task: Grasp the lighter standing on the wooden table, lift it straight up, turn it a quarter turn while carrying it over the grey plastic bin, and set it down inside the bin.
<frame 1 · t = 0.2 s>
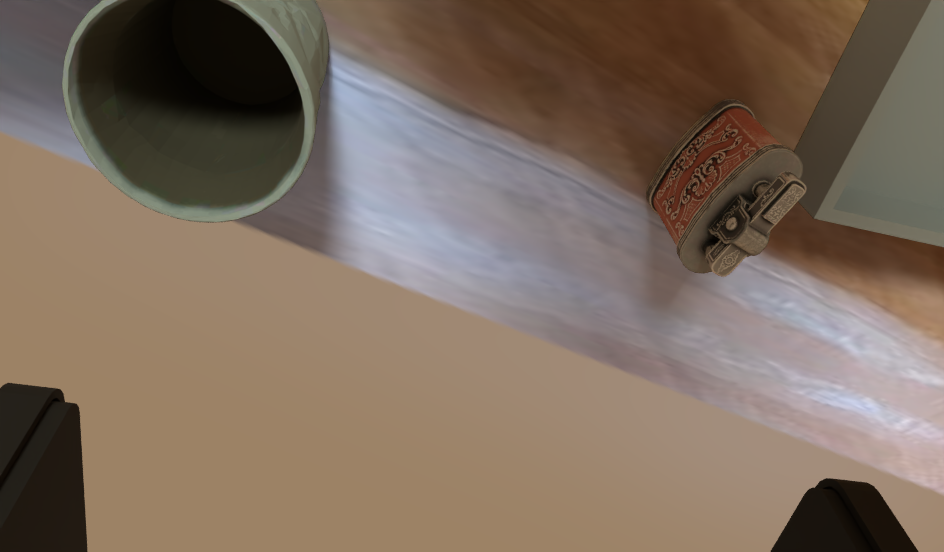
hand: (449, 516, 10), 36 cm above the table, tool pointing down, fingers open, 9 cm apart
green plant pot: (245, 34, 42), on the table
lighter: (696, 155, 48), on the table
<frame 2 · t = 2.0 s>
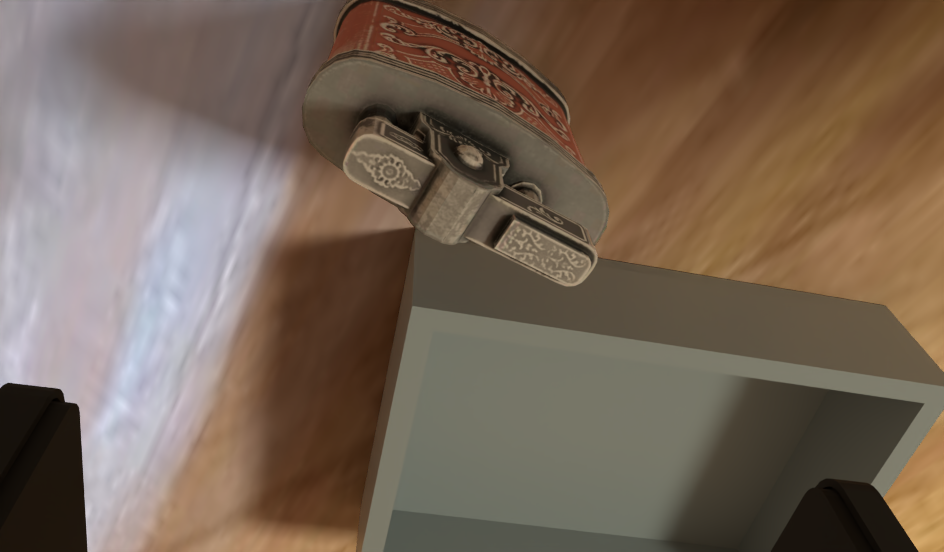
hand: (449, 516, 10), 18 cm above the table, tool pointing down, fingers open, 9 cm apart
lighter: (454, 72, 25), on the table
bin: (604, 414, 33), on the table
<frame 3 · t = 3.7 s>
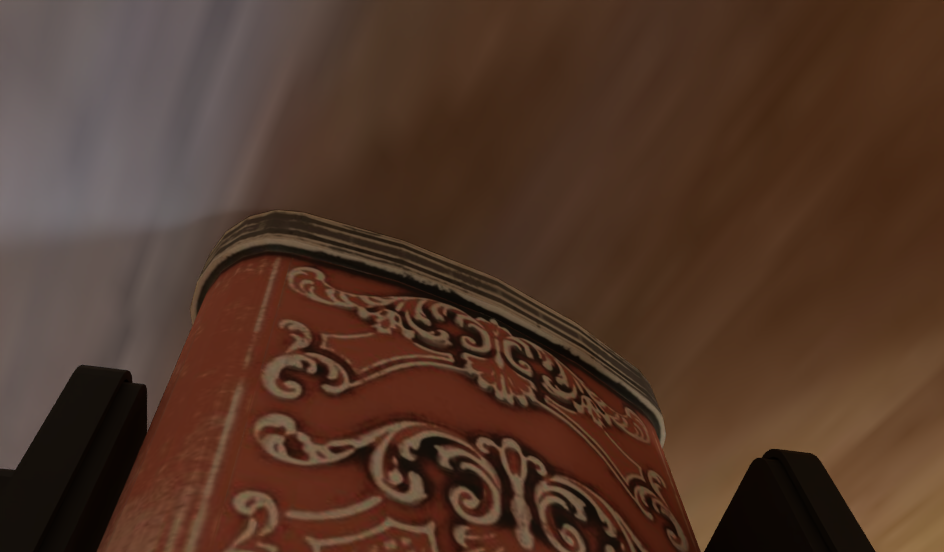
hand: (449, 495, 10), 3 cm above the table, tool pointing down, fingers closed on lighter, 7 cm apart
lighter: (443, 347, 13), on the table, touching gripper
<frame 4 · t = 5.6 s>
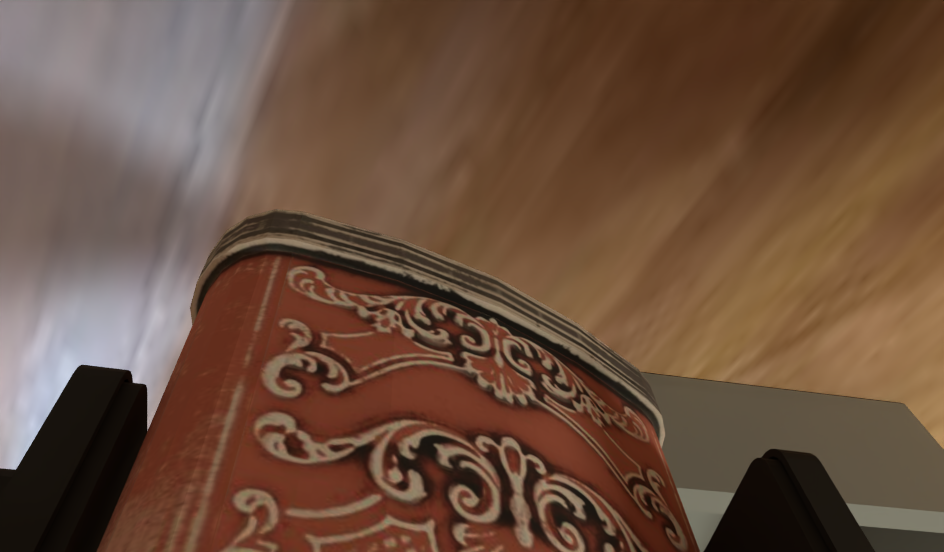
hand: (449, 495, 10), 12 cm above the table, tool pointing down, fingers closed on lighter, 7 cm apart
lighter: (443, 346, 13), point 9 cm above the table, touching gripper
bin: (585, 531, 29), on the table
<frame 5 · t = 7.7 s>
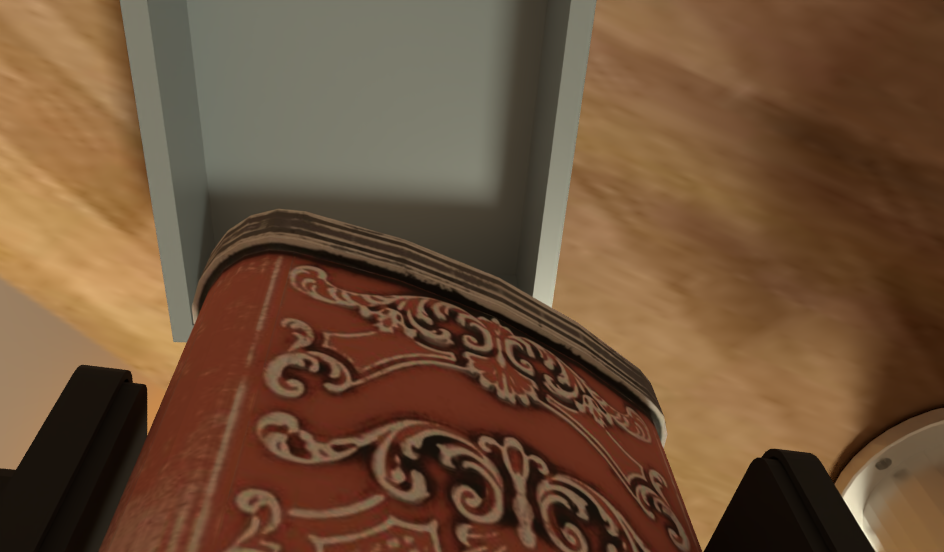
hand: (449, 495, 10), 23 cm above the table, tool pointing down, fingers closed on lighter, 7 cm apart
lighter: (444, 346, 13), point 20 cm above the table, touching gripper
bin: (370, 75, 31), on the table
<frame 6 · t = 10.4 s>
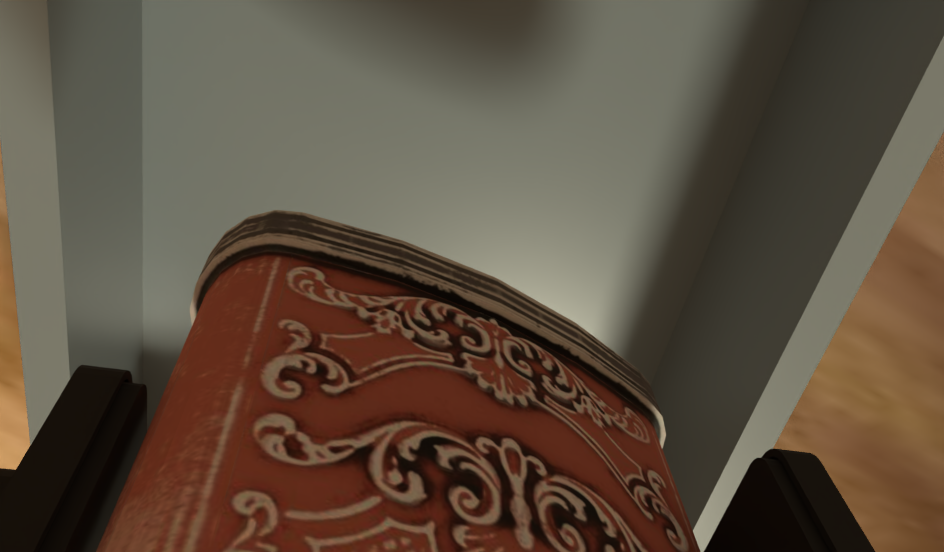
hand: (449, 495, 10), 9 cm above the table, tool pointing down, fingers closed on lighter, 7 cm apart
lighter: (443, 347, 13), point 6 cm above the table, touching gripper
bin: (439, 198, 18), on the table
when the fingers open (5 cm above the table, at t = 11.9 s): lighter drops 2 cm, resting on bin.
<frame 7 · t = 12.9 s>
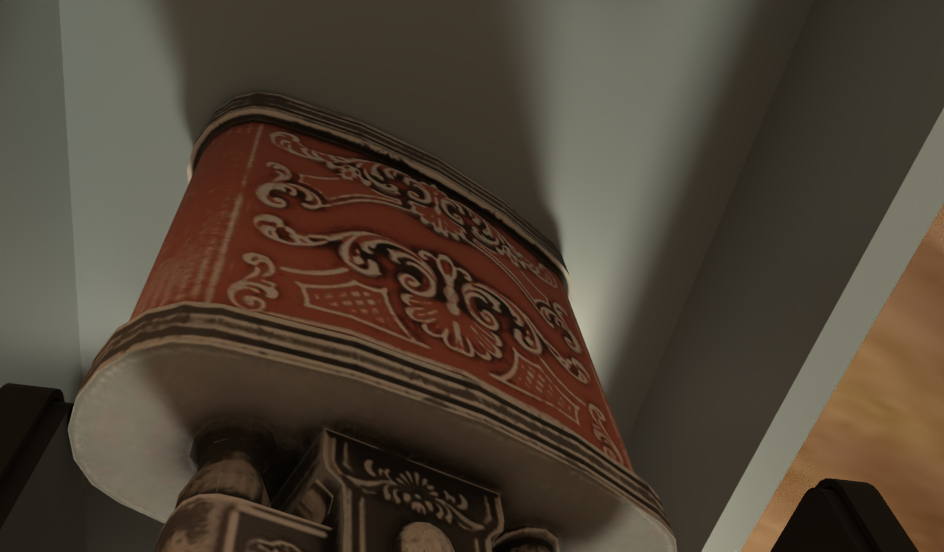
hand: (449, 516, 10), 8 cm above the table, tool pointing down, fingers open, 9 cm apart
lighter: (392, 219, 16), point 1 cm above the table, touching bin, gripper
bin: (408, 204, 17), on the table
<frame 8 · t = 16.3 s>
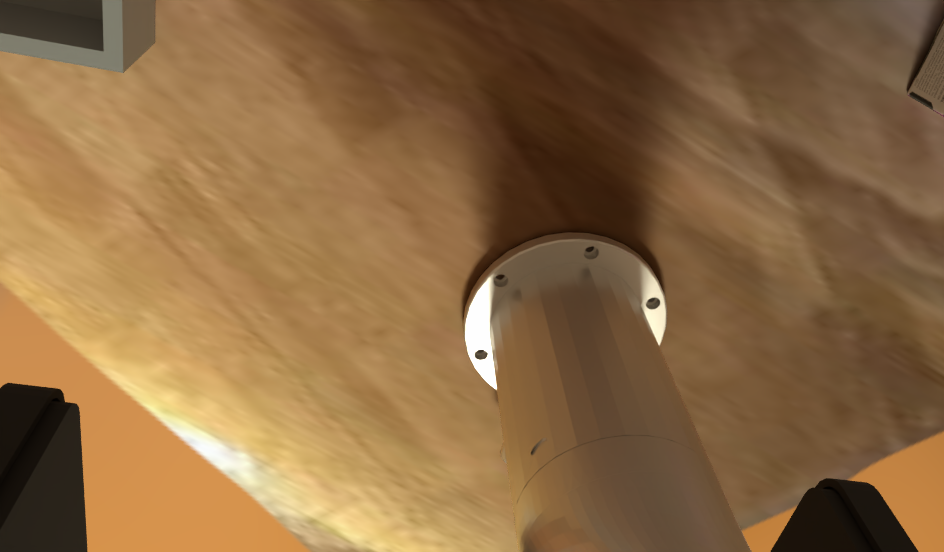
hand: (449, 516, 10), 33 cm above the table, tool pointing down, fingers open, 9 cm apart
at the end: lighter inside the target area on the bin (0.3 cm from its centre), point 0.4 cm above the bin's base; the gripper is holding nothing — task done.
